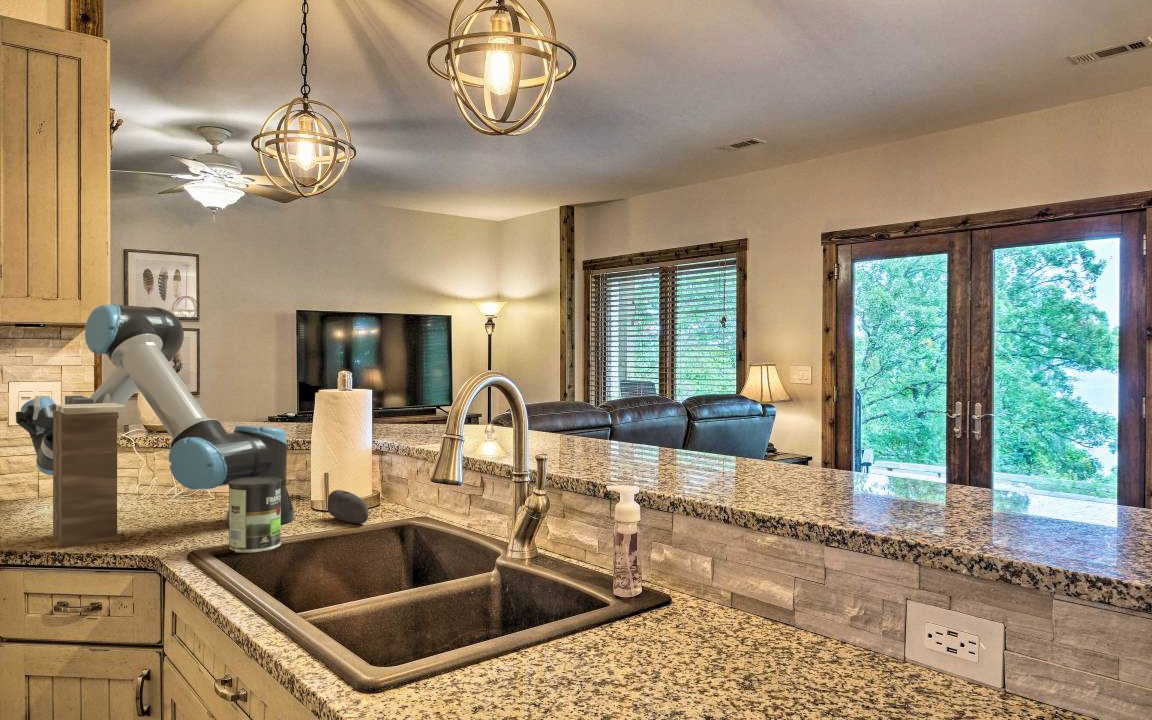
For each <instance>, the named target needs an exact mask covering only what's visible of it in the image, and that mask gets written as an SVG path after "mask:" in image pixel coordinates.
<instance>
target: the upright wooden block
mask: <svg viewBox="0 0 1152 720" xmlns="http://www.w3.org/2000/svg"><path fill="white" fill-rule="evenodd" d="M52 503H53V504H52V538H53V539H54V540H55V542H56V543H57V544H58V545H59V546H60V548H61V549H67V548H72V547H79V546H86V545H87V546H88V545H93V544H94V545H95V544H101V543H110V542H115V541H118V420H117V412H112V413H89V414H64V413H61V412H59V411H56V410H53V475H52Z"/></svg>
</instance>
